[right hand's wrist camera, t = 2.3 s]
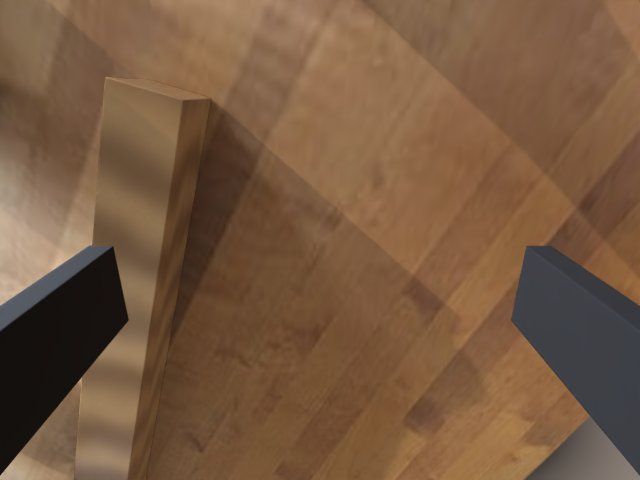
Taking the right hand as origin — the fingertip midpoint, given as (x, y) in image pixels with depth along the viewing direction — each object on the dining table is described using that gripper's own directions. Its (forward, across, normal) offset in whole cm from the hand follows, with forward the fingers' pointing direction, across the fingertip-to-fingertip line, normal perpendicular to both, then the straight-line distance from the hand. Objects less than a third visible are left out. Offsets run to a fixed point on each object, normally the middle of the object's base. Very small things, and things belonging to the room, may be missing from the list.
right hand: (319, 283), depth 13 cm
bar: (+26, -22, -27) cm, 43 cm away
